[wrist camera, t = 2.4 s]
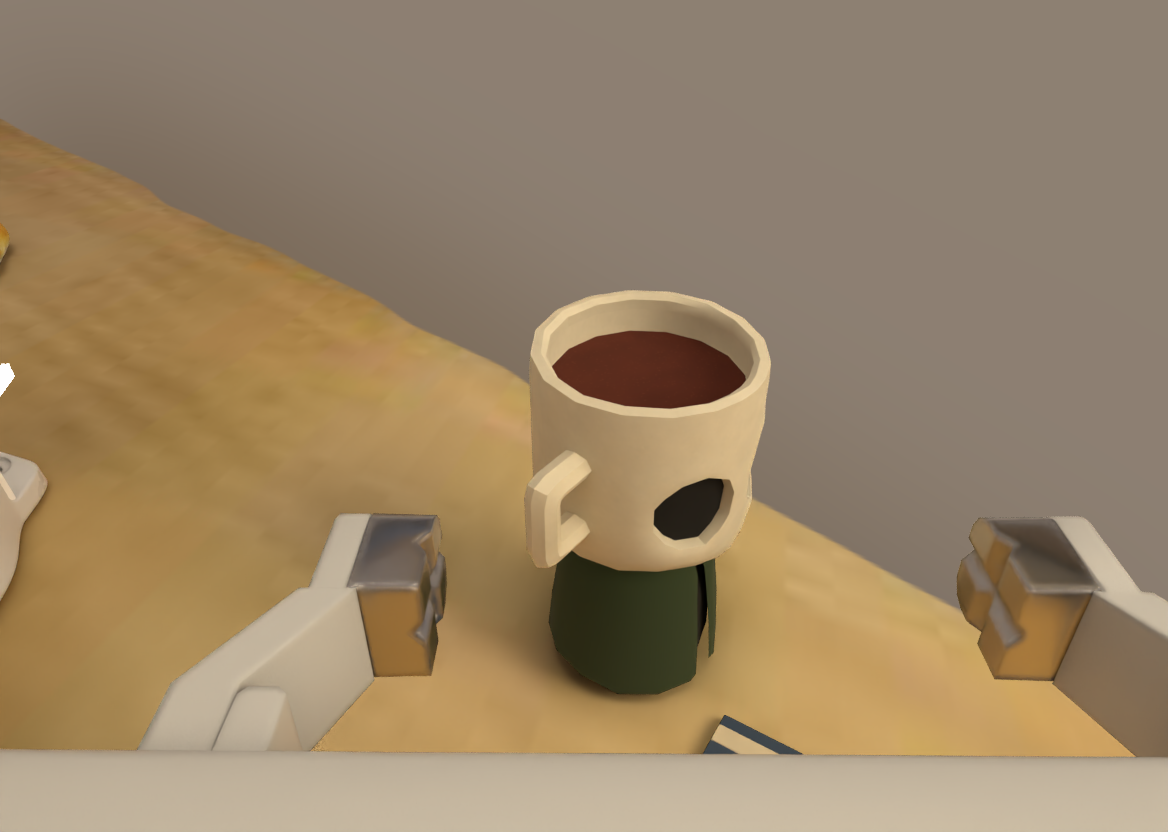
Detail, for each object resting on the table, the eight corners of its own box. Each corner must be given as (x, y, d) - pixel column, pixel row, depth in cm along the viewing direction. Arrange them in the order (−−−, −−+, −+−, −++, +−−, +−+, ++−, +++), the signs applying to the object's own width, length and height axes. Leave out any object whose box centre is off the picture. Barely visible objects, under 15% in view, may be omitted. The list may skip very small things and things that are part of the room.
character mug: (624, 796, 28) (644, 494, 20) (464, 681, 31) (429, 385, 24) (782, 593, 35) (842, 311, 27) (637, 517, 38) (653, 247, 31)
